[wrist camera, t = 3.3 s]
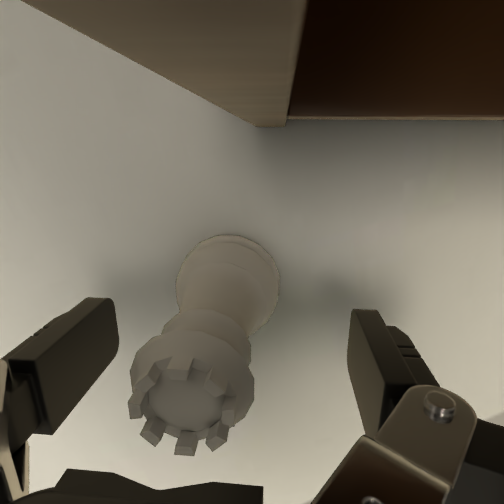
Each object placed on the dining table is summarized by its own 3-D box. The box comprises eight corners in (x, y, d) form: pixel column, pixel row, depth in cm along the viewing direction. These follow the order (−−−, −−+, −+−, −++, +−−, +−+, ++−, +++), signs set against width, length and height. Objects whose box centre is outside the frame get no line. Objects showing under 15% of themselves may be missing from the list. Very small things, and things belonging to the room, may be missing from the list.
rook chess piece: (268, 331, 16) (255, 503, 8) (177, 310, 16) (83, 462, 9) (290, 243, 15) (299, 355, 7) (190, 221, 15) (91, 308, 7)
